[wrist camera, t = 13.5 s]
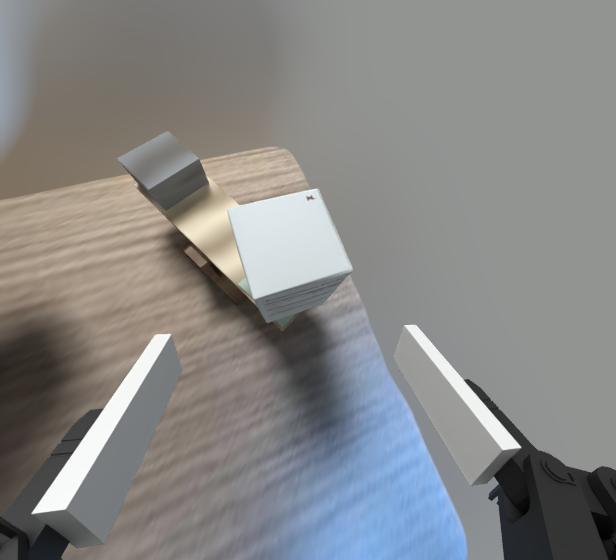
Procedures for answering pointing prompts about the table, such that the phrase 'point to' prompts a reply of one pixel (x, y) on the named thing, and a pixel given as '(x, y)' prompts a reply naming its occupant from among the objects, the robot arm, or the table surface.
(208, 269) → the fulcrum stand
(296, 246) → the supplement box
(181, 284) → the table surface
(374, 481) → the table surface
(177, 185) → the seesaw beam
